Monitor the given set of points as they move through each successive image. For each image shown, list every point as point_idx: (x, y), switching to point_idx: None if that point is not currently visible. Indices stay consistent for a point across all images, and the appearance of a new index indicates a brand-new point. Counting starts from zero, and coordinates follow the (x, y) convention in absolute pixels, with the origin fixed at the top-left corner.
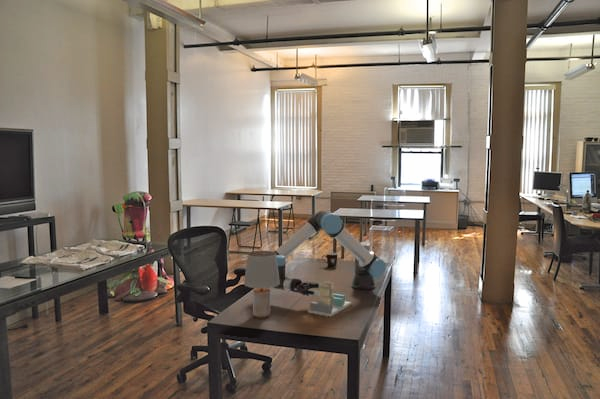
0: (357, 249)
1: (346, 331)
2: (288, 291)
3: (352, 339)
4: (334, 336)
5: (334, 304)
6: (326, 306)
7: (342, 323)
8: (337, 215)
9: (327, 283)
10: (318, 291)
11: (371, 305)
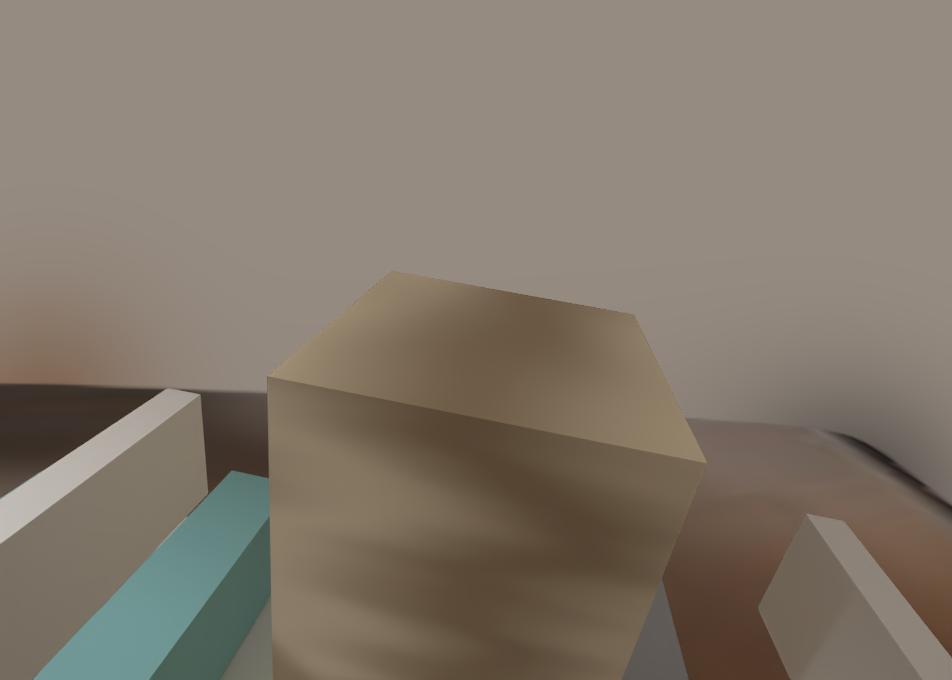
0: None
1: (793, 473)
2: None
3: (850, 440)
4: (943, 518)
5: (233, 648)
6: (664, 611)
7: (691, 511)
8: None
9: (486, 321)
10: (858, 550)
11: (150, 393)
